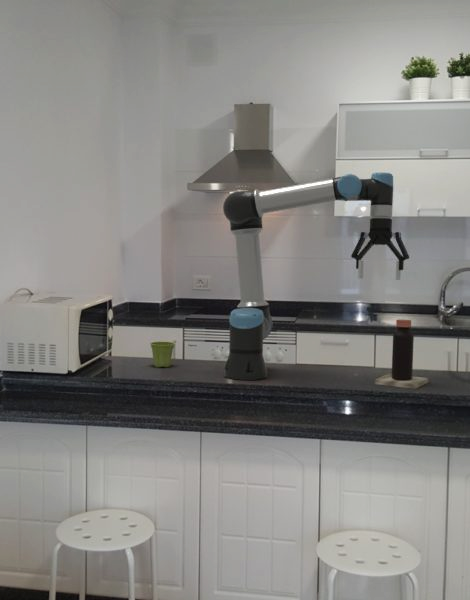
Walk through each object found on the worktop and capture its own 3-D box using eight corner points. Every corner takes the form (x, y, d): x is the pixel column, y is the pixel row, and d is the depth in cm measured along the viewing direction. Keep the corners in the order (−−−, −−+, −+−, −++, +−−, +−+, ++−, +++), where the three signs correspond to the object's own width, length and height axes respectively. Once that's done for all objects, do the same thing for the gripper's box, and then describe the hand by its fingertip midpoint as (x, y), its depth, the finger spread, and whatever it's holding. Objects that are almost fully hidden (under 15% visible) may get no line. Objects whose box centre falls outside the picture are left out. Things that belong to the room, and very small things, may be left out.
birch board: (374, 384, 237) (374, 379, 237) (388, 378, 249) (388, 373, 249) (416, 388, 230) (416, 384, 230) (428, 382, 242) (428, 378, 242)
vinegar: (390, 379, 237) (392, 320, 236) (392, 376, 244) (394, 318, 242) (411, 381, 235) (413, 321, 234) (412, 378, 242) (414, 319, 240)
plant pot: (179, 365, 267) (180, 343, 266) (164, 369, 259) (164, 345, 258) (160, 363, 272) (160, 340, 271) (144, 366, 264) (144, 343, 263)
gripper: (419, 218, 243) (417, 280, 244) (351, 218, 255) (349, 277, 257) (413, 217, 236) (410, 280, 238) (343, 217, 249) (341, 278, 250)
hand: (378, 279), depth 247 cm, fingers open, 13 cm apart
